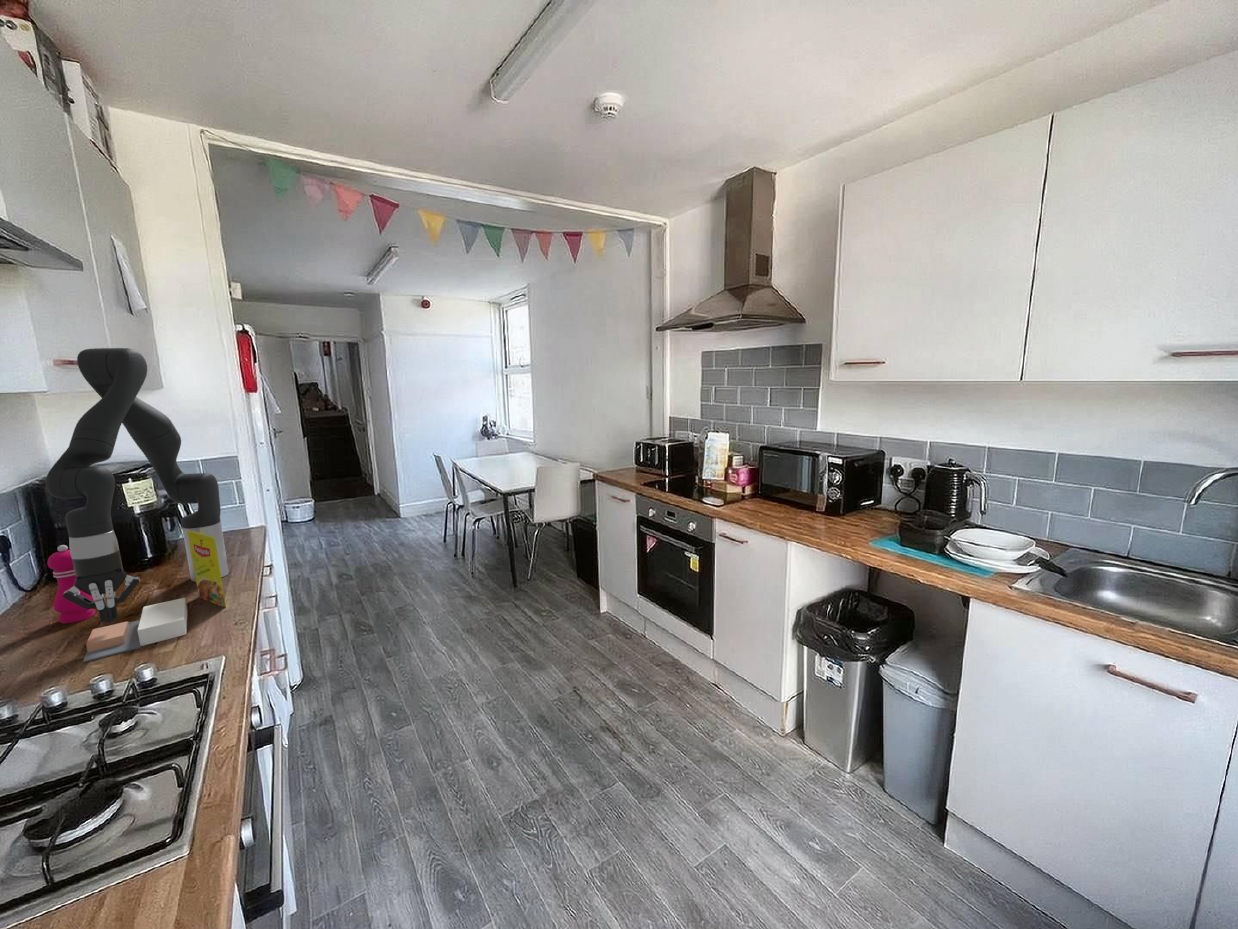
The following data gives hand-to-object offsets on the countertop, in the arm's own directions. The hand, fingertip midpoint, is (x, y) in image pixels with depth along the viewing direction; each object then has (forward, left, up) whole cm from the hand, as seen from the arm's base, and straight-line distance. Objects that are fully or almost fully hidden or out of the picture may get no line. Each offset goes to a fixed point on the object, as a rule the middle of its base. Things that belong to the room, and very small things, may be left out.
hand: (110, 621), depth 115 cm
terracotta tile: (0, -1, -2) cm, 3 cm away
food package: (-11, +18, -5) cm, 22 cm away
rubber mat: (0, +1, -5) cm, 5 cm away
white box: (0, +9, -5) cm, 10 cm away
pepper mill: (-23, -9, -5) cm, 25 cm away
